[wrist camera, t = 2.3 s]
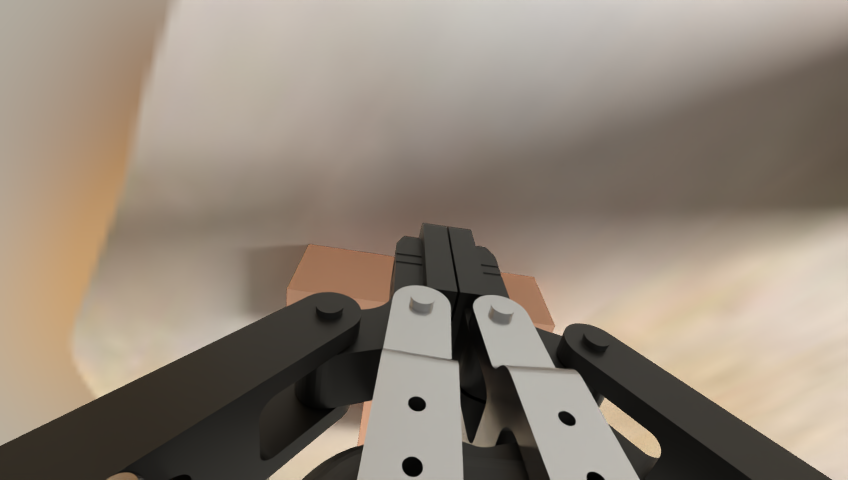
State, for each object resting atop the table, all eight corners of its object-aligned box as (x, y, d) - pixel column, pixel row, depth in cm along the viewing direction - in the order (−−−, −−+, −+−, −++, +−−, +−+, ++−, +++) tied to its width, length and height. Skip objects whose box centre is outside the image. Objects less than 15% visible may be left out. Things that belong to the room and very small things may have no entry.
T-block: (533, 277, 22) (555, 325, 19) (481, 424, 28) (489, 483, 24) (308, 244, 21) (286, 288, 18) (300, 404, 27) (282, 462, 23)
